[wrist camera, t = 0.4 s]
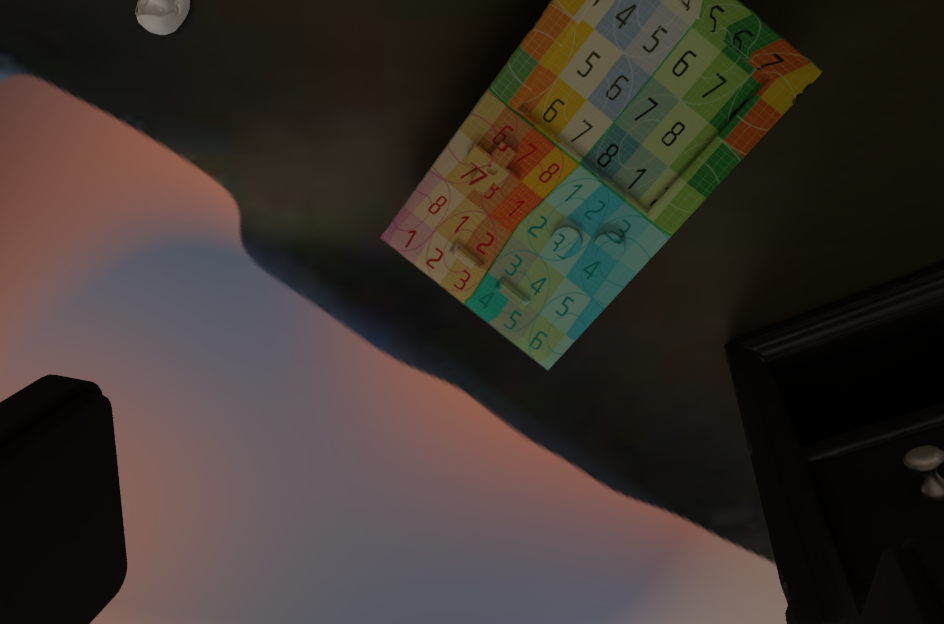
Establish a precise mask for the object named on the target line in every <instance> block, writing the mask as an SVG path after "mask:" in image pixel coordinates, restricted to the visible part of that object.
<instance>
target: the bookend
mask: <svg viewBox="0 0 944 624" xmlns="http://www.w3.org/2000/svg"><path fill="white" fill-rule="evenodd" d="M724 348H725V350H726V353H725V357H726V360H727V362H728V365H729V368H730V372H731V376H732V380H733V384H734V388H735V394H736V397H737V402H738V406H739V410H740V414H741V419H742V423H743V427H744V431H745V435H746V440H747V444H748V448H749V452H750V456H751V460H752V464H753V469H754V473H755V477H756V482H757V486H758V490H759V494H760V499H761V503H762V507H763V512H764V516H765V520H766V524H767V527H768V530H769V536H770V541H771V545H772V549H773V553H774V558H775V562H776V566H777V570H778V574H779V579H780V582H781V586H782V589H783V592H784V594H785V597H786V600H787V603H788V607H787V610H786V613H785V614H786V621H787V624H858V623H859V620H860V617H861V614H862V611H863V608H864V605H865V602H866V599H867V596H868V593H869V590H870V587H871V584H872V581H873V578H874V575H875V572H876V569H877V566H878V563H879V560H880V558H881V556H882V553H883V552H884V551H885V549H886V548H889V547H891V548H896V549H900V548H901V546H902V544H903V543H904V542H905V541H906V539H909V538H916V539H921V540H926V541H931V542H937V543H942V544H944V263H943V264H942V265H941V266H939V267H935V268H932V269H931V270H927V271H924V272H921V273H918V274H916V275H914V276H908V277H907V278H905V279H903V280H900V281H897V282H895V283H891V284H888V285H885V286H883V287H880V288H877V289H875V290H872V291H870V292H867V293H865V294H862V295H858V296H856V297H853V298H850V299H847V300H844V301H842V302H839V303H836V304H833V305H830V306H827V307H825V308H822V309H820V310H817V311H814V312H811V313H808V314H806V315H802V316H799V317H797V318H795V319H792V320H789V321H786V322H784V323H781V324H778V325H775V326H772V327H770V328H767V329H764V330H761V331H759V332H756V333H753V334H750V335H748V336H745V337H743V338H740V339H737V340H735V341H732V342H730V343H728V344H726V345H725V346H724Z"/></svg>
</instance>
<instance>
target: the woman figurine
mask: <svg viewBox="0 0 944 624" xmlns="http://www.w3.org/2000/svg"><path fill="white" fill-rule="evenodd" d="M137 7H138V13H136V11H135V14H136V16H137V19H138V22H139V24H141V25H142V26H143V27H144V28H145V29H146V30H148V31H149V32H151V33H155V34H159V35H167V34H170V33H172V32H175V31H176V30H177V28H178V27H179V26H180V25H181V24H182V22H183V21H184V19H185V18H186V16H187V13H188V11H189V8H190V0H140V1H138V2H137ZM137 7H136V10H137Z"/></svg>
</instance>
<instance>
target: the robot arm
mask: <svg viewBox="0 0 944 624" xmlns="http://www.w3.org/2000/svg"><path fill="white" fill-rule="evenodd" d="M126 571H127V557H126V548H125V536H124V527H123V516H122V506H121V496H120V486H119V476H118V466H117V455H116V445H115V435H114V425H113V415H112V407H111V403H110V401H109V399H108V398H107V397H105V396H103V395H102V391H101V389H100V388H99V387H98V385H97V384H95V383H93V382H90V381H85V380H80V379H75V378H69V377H64V376H59V375H47V376H44V377H42V378H40V379H38V380H37V381H35V382H34V383H32V384H30V385H28V386H27V387H25V388H23V389H22V390H20V391H19V392H17V393H15V394H13V395H12V396H10V397H9V398H7V399H5V400H4V401H2V402H0V624H90V622H91V621H92V620H93V619H94V618H95V617H96V616H97V615H98V614H99V613H100V612H101V611H102V610H103V608H104V607H105V606H106V605H107V604H108V603H109V602H110V601H111V600H112V598H114V596H115V595H116V594H117V593H118V591H119V590H120V588H121V586H122V584H123V582H124V579H125V576H126ZM858 624H944V544H942V543H937V542H931V541H926V540H921V539H916V538H909V539H906V541H905V542H904V543H903V544H902V546H901V548H900V549H896V548H891V547H889V548H886V549H885V551H884V552H883V553H882V556H881V558H880V560H879V563H878V566H877V569H876V572H875V575H874V578H873V581H872V584H871V587H870V590H869V593H868V596H867V599H866V602H865V605H864V608H863V611H862V614H861V617H860V620H859V623H858Z"/></svg>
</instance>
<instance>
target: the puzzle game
mask: <svg viewBox="0 0 944 624" xmlns="http://www.w3.org/2000/svg"><path fill="white" fill-rule="evenodd" d="M822 72H823V70H822V69H821V68H820V67H819V66H817V65H816V64H815V63H814V62H813V61H811V60H810V59H809V58H808V57H807V56H805V55H804V54H803V53H802V52H801V51H799V50H798V49H797V48H796V47H795V46H794V45H792V44H791V43H790V42H789V41H788V40H786V39H785V38H784V37H783V36H782V35H780V34H779V33H778V32H777V31H776V30H774V29H773V28H772V27H771V26H770V25H768V24H767V23H766V22H765V21H764V20H762V19H761V18H760V17H759V16H758V15H756V14H755V13H754V12H753V11H752V10H750V9H749V8H748V7H747V6H746V5H744V4H743V3H742V2H741V1H740V0H551V2H550V3H549V4H548V6H547V7H546V9H545V10H544V11H543V13H542V14H541V16H540V17H539V18H538V20H537V21H536V22H535V24H534V25H533V27H532V28H531V29H530V31H529V32H528V34H527V35H526V36H525V38H524V39H523V40H522V42H521V43H520V45H519V46H518V47H517V49H516V50H515V51H514V53H513V54H512V56H511V57H510V58H509V60H508V61H507V63H506V64H505V65H504V67H503V68H502V69H501V71H500V72H499V74H498V75H497V76H496V78H495V79H494V81H493V82H492V83H491V85H490V86H489V87H488V89H487V90H486V92H485V93H484V94H483V96H482V97H481V98H480V100H479V101H478V103H477V104H476V105H475V107H474V108H473V110H472V111H471V112H470V114H469V115H468V116H467V118H466V119H465V121H464V122H463V123H462V125H461V126H460V127H459V129H458V130H457V132H456V133H455V134H454V136H453V137H452V139H451V140H450V141H449V143H448V144H447V145H446V147H445V148H444V150H443V151H442V152H441V154H440V155H439V157H438V158H437V159H436V161H435V162H434V163H433V165H432V166H431V168H430V169H429V170H428V172H427V173H426V174H425V176H424V177H423V179H422V180H421V181H420V183H419V184H418V186H417V187H416V188H415V190H414V191H413V192H412V194H411V195H410V197H409V198H408V199H407V201H406V202H405V204H404V205H403V206H402V208H401V209H400V210H399V212H398V213H397V215H396V216H395V217H394V219H393V220H392V221H391V223H390V224H389V226H388V227H387V228H386V230H385V231H384V233H383V234H382V235H381V237H380V239H381V240H382V241H384V242H385V243H386V244H388V245H389V246H390V247H391V248H393V249H394V250H395V251H396V252H398V253H399V254H400V255H401V256H403V257H404V258H405V259H406V260H408V261H409V262H410V263H412V264H413V265H414V266H415V267H417V268H418V269H419V270H420V271H422V272H423V273H424V274H425V275H427V276H428V277H429V278H430V279H432V280H433V281H434V282H435V283H437V284H438V285H439V286H441V287H442V288H443V289H444V290H446V291H447V292H448V293H449V294H451V295H452V296H453V297H454V298H456V299H457V300H458V301H459V302H461V303H462V304H463V305H465V306H466V307H467V308H468V309H470V310H471V311H472V312H473V313H475V314H476V315H477V316H478V317H480V318H481V319H482V320H483V321H485V322H486V323H487V324H489V325H490V326H491V327H492V328H494V329H495V330H496V331H497V332H499V333H500V334H501V335H502V336H504V337H505V338H506V339H507V340H509V341H510V342H511V343H513V344H514V345H515V346H516V347H518V348H519V349H520V350H521V351H523V352H524V353H525V354H526V355H528V356H529V357H530V358H531V359H533V360H534V361H535V362H537V363H538V364H539V365H540V366H542V367H543V368H544V369H545V370H547V371H548V370H549V369H550V368H551V367H552V366H553V364H554V363H555V362H556V361H557V360H558V359H559V358H560V357H561V356H562V355H563V354H564V352H565V351H566V350H567V349H568V348H569V347H570V346H571V345H572V344H573V343H574V342H575V341H576V339H577V338H578V337H579V336H580V335H581V334H582V333H583V332H584V331H585V330H586V329H587V327H588V326H589V325H590V324H591V323H592V322H593V321H594V320H595V319H596V318H597V317H598V316H599V314H600V313H601V312H602V311H603V310H604V309H605V308H606V307H607V306H608V305H609V304H610V302H611V301H612V300H613V299H614V298H615V297H616V296H617V295H618V294H619V293H620V292H621V291H622V289H623V288H624V287H625V286H626V285H627V284H628V283H629V282H630V281H631V280H632V279H633V277H634V276H635V275H636V274H637V273H638V272H639V271H640V270H641V269H642V268H643V267H644V266H645V264H646V263H647V262H648V261H649V260H650V259H651V258H652V257H653V256H654V255H655V254H656V252H657V251H658V250H659V249H660V248H661V247H662V246H663V245H664V244H665V243H666V242H667V240H668V239H669V238H670V237H671V236H672V235H673V234H674V233H675V232H676V231H677V230H678V229H679V227H680V226H681V225H682V224H683V223H684V222H685V221H686V220H687V219H688V218H689V217H690V215H691V214H692V213H693V212H694V211H695V210H696V209H697V208H698V207H699V206H700V205H701V204H702V202H703V201H704V200H705V199H706V198H707V197H708V196H709V195H710V194H711V193H712V192H713V190H714V189H715V188H716V187H717V186H718V185H719V184H720V183H721V182H722V181H723V180H724V179H725V177H726V176H727V175H728V174H729V173H730V172H731V171H732V170H733V169H734V168H735V167H736V165H737V164H738V163H739V162H740V161H741V160H742V159H743V158H744V157H745V156H746V155H747V154H748V152H749V151H750V150H751V149H752V148H753V147H754V146H755V145H756V144H757V143H758V142H759V140H760V139H761V138H762V137H763V136H764V135H765V134H766V133H767V132H768V131H769V130H770V128H771V127H772V126H773V125H774V124H775V123H776V122H777V121H778V120H779V119H780V118H781V117H782V115H783V114H784V113H785V112H786V111H787V110H788V109H789V108H790V107H791V106H792V105H793V103H794V102H795V101H796V100H797V99H798V98H799V97H800V96H801V95H802V94H803V93H804V92H805V90H806V89H807V88H808V87H809V86H810V85H811V84H812V83H813V82H814V81H815V80H816V78H817V77H818V76H819V75H820V74H821V73H822Z"/></svg>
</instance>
